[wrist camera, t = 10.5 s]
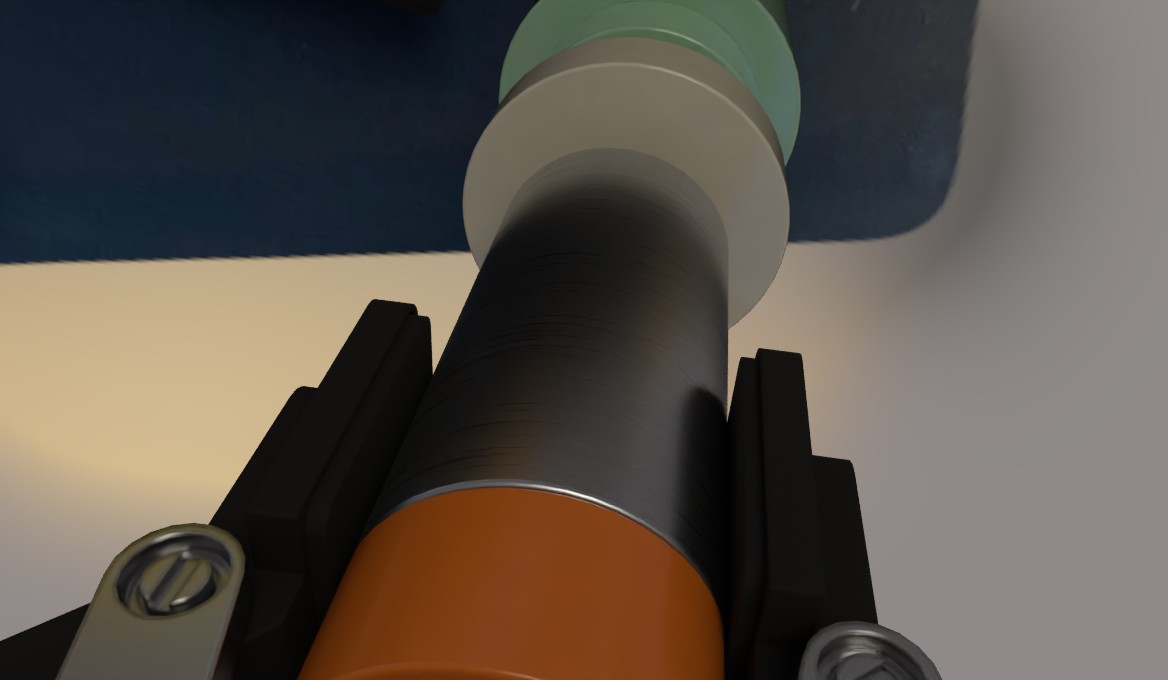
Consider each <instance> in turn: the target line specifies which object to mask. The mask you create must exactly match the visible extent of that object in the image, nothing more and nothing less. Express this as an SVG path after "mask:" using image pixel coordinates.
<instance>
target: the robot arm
mask: <svg viewBox="0 0 1168 680" xmlns="http://www.w3.org/2000/svg"><path fill="white" fill-rule="evenodd" d="M431 344H432V343H431V324H430V319H429V317H427V316H419V315H418V311H417V308H416V306H415V305H414V304H409V303H401V302H394V301H385V300H378V299H374V300H372V301H371V302H370V303H369V304H368V306H367V308H366V309H365V311H364V313H363V314H362V316H361V318H360V319H359V321H358V322H357V324H356V326H355V327H354V329H353V331H352V333H351V334H350V336H349V337H348V339H347V341H346V342H345V344H344V346H343V347H342V349H341V350H340V352H339V354H338V355H337V357H336V359H335V360H334V362H333V364H332V365H331V367H330V369H329V370H328V372H327V373H326V375H325V377H324V379H323V380H322V382H321V383H320V385H319V387H318V388H313V387H306V386H302V387H300V388H297V389H296V390H295V391H294V393H293V394H292V395H291V396H290V398H289V399H288V401H287V402H286V404H285V406H284V407H283V409H282V410H281V412H280V413H279V415H278V416H277V418H276V420H275V421H274V423H273V424H272V426H271V427H270V429H269V431H268V432H267V434H266V435H265V437H264V438H263V440H262V442H261V443H260V445H259V446H258V448H257V449H256V451H255V452H254V454H253V456H252V457H251V459H250V460H249V462H248V464H247V465H246V467H245V468H244V470H243V472H242V473H241V474H240V476H239V477H238V479H237V481H236V482H235V484H234V485H233V487H232V488H231V490H230V491H229V493H228V495H227V496H226V498H225V499H224V501H223V502H222V504H221V506H220V507H219V509H218V510H217V512H216V513H215V515H214V516H213V518H212V520H211V521H210V523H209V524H208V525H206V524H197V523H189V524H180V525H172V526H169V527H166V528H163V529H160V530H156V531H153V532H150V533H149V534H147V535H145V536H143V537H141V538H140V539H138V540H136V541H134V542H132V543H131V544H130V545H128V547H126V548H125V549H124V550H123V551H122V552H120V553H119V554H118V555H117V556H116V557H115V558H114V560H113V561H112V563H111V564H110V566H109V567H108V569H107V570H106V571H105V573H104V575H103V578H102V579H101V581H100V584H99V586H98V588H97V590H96V592H95V594H94V597H93V599H92V601H91V603H89V604H86V605H84V606H82V607H79V608H77V609H75V610H72V611H70V612H68V613H65V614H63V615H61V616H58V617H56V618H54V619H51V620H49V621H46V622H44V623H42V624H40V625H37V626H35V627H32V628H30V629H28V630H25V631H23V632H21V633H18V634H16V635H14V636H11V637H9V638H7V639H4V640H2V641H0V680H297V678H298V675H299V673H300V671H301V669H302V666H303V664H304V662H305V660H306V657H307V655H308V653H309V651H310V648H311V646H312V644H313V642H314V640H315V637H316V635H317V633H318V631H319V628H320V626H321V624H322V622H323V619H324V617H325V615H326V613H327V611H328V608H329V606H330V604H331V602H332V599H333V597H334V595H335V593H336V590H337V588H338V586H339V584H340V582H341V579H342V577H343V575H344V573H345V570H346V568H347V566H348V564H349V561H350V559H351V557H352V555H353V553H354V551H355V549H356V546H357V544H358V541H359V539H360V537H361V535H362V532H363V530H364V528H365V526H366V523H367V521H368V519H369V517H370V515H371V512H372V510H373V508H374V506H375V503H376V501H377V499H378V497H379V494H380V492H381V490H382V488H383V486H384V483H385V481H386V479H387V477H388V474H389V472H390V470H391V468H392V465H393V463H394V461H395V459H396V456H397V454H398V452H399V450H400V448H401V445H402V443H403V441H404V439H405V436H406V434H407V432H408V430H409V427H410V425H411V423H412V421H413V419H414V416H415V414H416V412H417V410H418V407H419V405H420V403H421V401H422V398H423V396H424V394H425V392H426V390H427V387H428V385H429V383H430V381H431V378H432V376H433V368H432V345H431ZM724 636H725V680H942V678H941V676H940V674H939V672H938V671H937V669H936V667H935V665H934V663H933V662H932V661H931V660H930V659H929V658H928V657H927V656H926V654H925V653H924V652H923V651H922V650H921V649H920V648H919V647H918V646H917V645H915V644H914V643H913V642H911V641H910V640H908V639H907V638H905V637H904V636H903V635H901V634H900V633H897V632H895V631H893V630H890V629H888V628H886V627H883V626H881V625H879V624H878V620H877V613H876V607H875V600H874V594H873V588H872V581H871V575H870V568H869V562H868V555H867V549H866V543H865V536H864V529H863V524H862V516H861V510H860V504H859V497H858V491H857V484H856V478H855V472H854V468H853V464H852V463H851V462H850V460H845V459H837V458H830V457H823V456H815V455H812V449H811V440H810V429H809V420H808V409H807V400H806V390H805V380H804V370H803V361H802V356H801V354H800V353H794V352H786V351H778V350H770V349H762V348H759V349H758V351H757V353H756V357H755V359H754V358H747V357H741V358H740V361H739V366H738V371H737V376H736V381H735V386H734V391H733V396H732V401H731V406H730V412H729V416H728V421H727V483H726V580H725V632H724Z"/></svg>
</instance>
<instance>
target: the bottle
mask: <svg viewBox="0 0 1168 680" xmlns="http://www.w3.org/2000/svg"><path fill="white" fill-rule="evenodd" d="M800 114H801V91H800V84H799V77H798V70H797V64H796V58H795V52H794V46H793V40H792V34H791V28H790V22H789V16H788V9H787V3H786V0H536V1H535V3H534V4H533V6H532V7H531V9H530V10H529V12H528V13H527V15H526V16H525V18H524V19H523V21H522V22H521V24H520V25H519V27H518V29H517V31H516V33H515V35H514V37H513V39H512V40H511V42H510V45H509V48H508V51H507V53H506V56H505V59H504V63H503V67H502V72H501V77H500V85H499V106H498V108H497V109H496V111H495V113H494V114H493V116H492V118H491V119H490V121H489V123H488V124H487V126H486V128H485V130H484V131H483V133H482V135H481V137H480V139H479V141H478V142H477V144H476V146H475V148H474V150H473V153H472V156H471V158H470V161H469V164H468V167H467V171H466V176H465V181H464V186H463V202H462V207H463V219H464V226H465V231H466V235H467V240H468V243H469V246H470V249H471V252H472V254H473V257H474V259H475V262H476V264H477V266H478V268H479V269H481V267H482V265H483V262H484V260H485V258H486V256H487V253H488V251H489V249H490V247H491V244H492V242H493V240H494V238H495V235H496V233H497V231H498V229H499V227H500V224H501V222H502V220H503V218H504V215H505V213H506V211H507V209H508V206H509V204H510V203H511V201H512V199H513V197H514V196H515V194H516V192H517V191H518V190H519V189H520V187H521V186H522V185H523V184H524V183H525V181H527V180H528V179H529V178H530V177H531V176H532V175H533V174H534V173H535V172H537V171H538V170H539V169H541V168H542V167H544V166H545V165H547V164H548V163H550V162H552V161H554V160H556V159H558V158H560V157H563V156H566V155H569V154H572V153H575V152H579V151H584V150H589V149H598V148H620V149H628V150H634V151H639V152H642V153H646V154H649V155H652V156H655V157H657V158H659V159H662V160H664V161H666V162H668V163H670V164H672V165H673V166H675V167H677V168H678V169H680V170H682V171H683V172H684V173H686V174H687V175H688V176H689V177H691V178H692V179H693V180H694V181H695V182H696V183H697V184H698V185H699V186H700V187H701V188H702V189H703V190H704V191H705V192H706V194H707V195H708V196H709V198H710V199H711V200H712V202H713V203H714V205H715V207H716V209H717V211H718V212H719V214H720V216H721V219H722V222H723V224H724V227H725V230H726V235H727V240H728V250H729V292H728V329H729V328H731V327H732V326H733V325H735V324H736V323H738V322H739V321H740V320H741V319H742V318H743V317H744V316H745V315H746V314H748V312H750V311H751V310H752V308H753V307H754V306H755V305H756V304H757V303H758V301H759V300H760V299H761V298H762V297H763V296H764V294H765V292H766V291H767V289H768V288H769V286H770V285H771V283H772V282H773V280H774V278H775V276H776V273H777V271H778V269H779V267H780V265H781V262H782V259H783V256H784V252H785V249H786V245H787V240H788V233H789V225H790V216H789V196H788V187H787V177H786V169H785V167H786V165H787V162H788V160H789V158H790V155H791V153H792V151H793V148H794V144H795V141H796V137H797V134H798V129H799V121H800Z"/></svg>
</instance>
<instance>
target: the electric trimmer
mask: <svg viewBox="0 0 1168 680" xmlns="http://www.w3.org/2000/svg"><path fill="white" fill-rule="evenodd" d="M373 1H377V2H380V3H383V4H386V5H389V6H392V7H395V8H398V9H402V10H405V11H408V12H411V13H416V14H421V15H425V16H433V15H437V13H438V11H439V9H440V7H441V5H442V2H443V0H373Z"/></svg>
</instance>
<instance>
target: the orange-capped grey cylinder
mask: <svg viewBox="0 0 1168 680" xmlns="http://www.w3.org/2000/svg"><path fill="white" fill-rule="evenodd" d="M728 292H729V250H728V240H727V235H726V230H725V227H724V224H723V222H722V219H721V216H720V214H719V212H718V211H717V209H716V207H715V205H714V203H713V202H712V200H711V199H710V198H709V196H708V195H707V194H706V192H705V191H704V190H703V189H702V188H701V187H700V186H699V185H698V184H697V183H696V182H695V181H694V180H693V179H692V178H691V177H689V176H688V175H687V174H686V173H684V172H683V171H682V170H680V169H678V168H677V167H675V166H673V165H672V164H670V163H668V162H666V161H664V160H662V159H659V158H657V157H655V156H652V155H649V154H646V153H642V152H639V151H634V150H628V149H620V148H598V149H589V150H584V151H579V152H575V153H572V154H569V155H566V156H563V157H560V158H558V159H556V160H554V161H552V162H550V163H548V164H547V165H545V166H544V167H542V168H541V169H539V170H538V171H537V172H535V173H534V174H533V175H532V176H531V177H530V178H529V179H528V180H527V181H525V183H524V184H523V185H522V186H521V187H520V189H519V190H518V191H517V192H516V194H515V196H514V197H513V199H512V201H511V203H510V204H509V206H508V209H507V211H506V213H505V215H504V218H503V220H502V222H501V224H500V227H499V229H498V231H497V233H496V235H495V238H494V240H493V242H492V244H491V247H490V249H489V251H488V253H487V256H486V258H485V260H484V262H483V265H482V267H481V269H480V272H479V273H478V276H477V278H476V280H475V282H474V285H473V287H472V289H471V292H470V294H469V296H468V298H467V300H466V302H465V305H464V307H463V309H462V312H461V314H460V316H459V318H458V320H457V323H456V325H455V327H454V329H453V332H452V334H451V336H450V338H449V340H448V343H447V345H446V347H445V349H444V352H443V354H442V356H441V358H440V361H439V363H438V365H437V367H436V369H435V372H434V374H433V376H432V378H431V381H430V383H429V385H428V387H427V390H426V392H425V394H424V396H423V398H422V401H421V403H420V405H419V407H418V410H417V412H416V414H415V416H414V419H413V421H412V423H411V425H410V427H409V430H408V432H407V434H406V436H405V439H404V441H403V443H402V445H401V448H400V450H399V452H398V454H397V456H396V459H395V461H394V463H393V465H392V468H391V470H390V472H389V474H388V477H387V479H386V481H385V483H384V486H383V488H382V490H381V492H380V494H379V497H378V499H377V501H376V503H375V506H374V508H373V510H372V512H371V515H370V517H369V519H368V521H367V523H366V526H365V528H364V530H363V532H362V535H361V537H360V539H359V541H358V544H357V546H356V549H355V551H354V553H353V555H352V557H351V559H350V561H349V564H348V566H347V568H346V570H345V573H344V575H343V577H342V579H341V582H340V584H339V586H338V588H337V590H336V593H335V595H334V597H333V599H332V602H331V604H330V606H329V608H328V611H327V613H326V615H325V617H324V619H323V622H322V624H321V626H320V628H319V631H318V633H317V635H316V637H315V640H314V642H313V644H312V646H311V648H310V651H309V653H308V655H307V657H306V660H305V662H304V664H303V666H302V669H301V671H300V673H299V675H298V678H297V680H725V636H724V632H725V580H726V483H727V394H728V389H727V388H728Z"/></svg>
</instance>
